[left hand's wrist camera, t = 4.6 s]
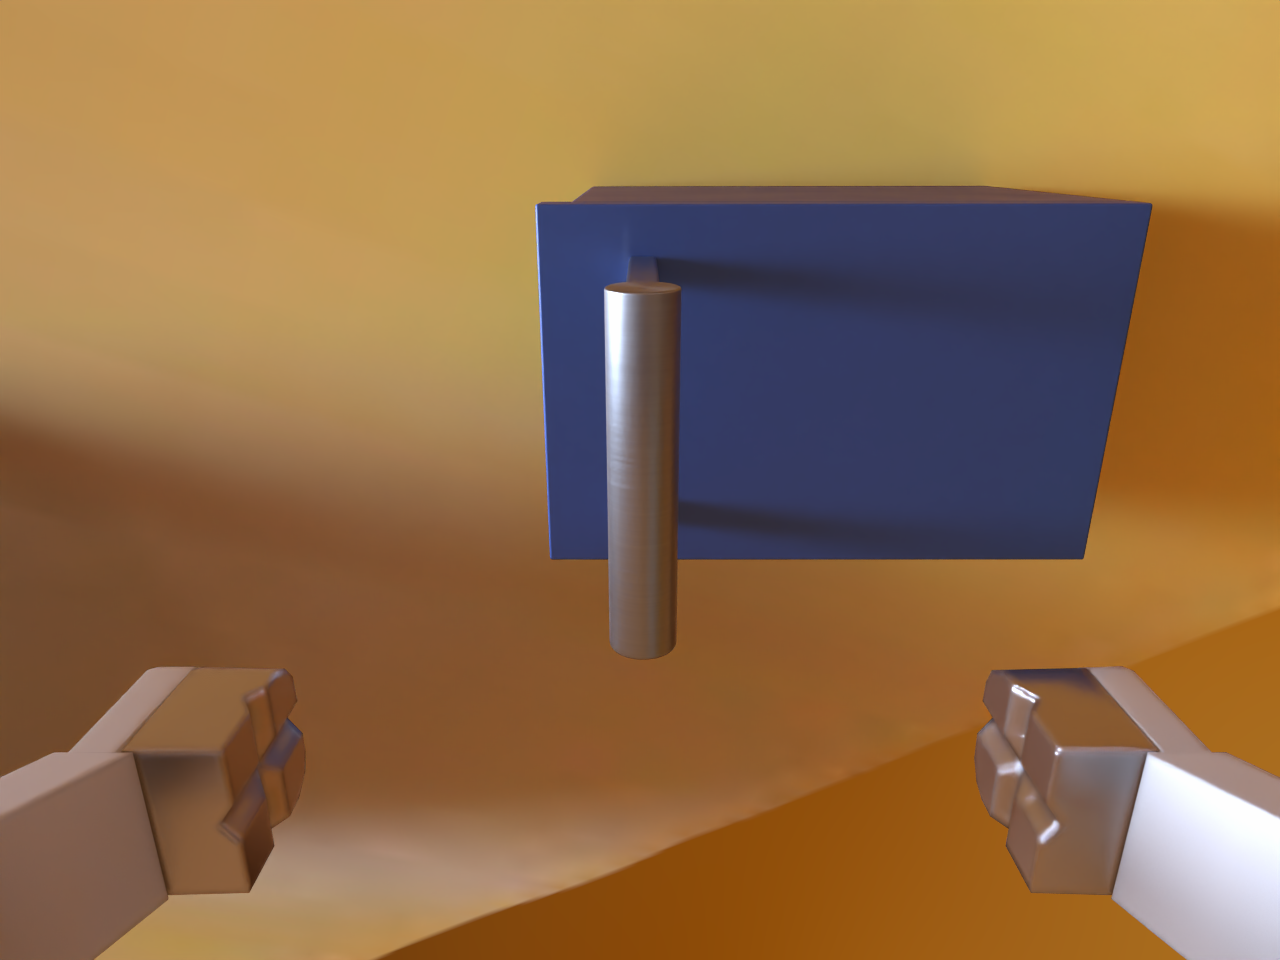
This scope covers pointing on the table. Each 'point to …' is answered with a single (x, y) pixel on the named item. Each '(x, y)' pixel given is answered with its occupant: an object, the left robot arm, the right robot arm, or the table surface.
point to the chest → (819, 194)
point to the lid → (825, 382)
